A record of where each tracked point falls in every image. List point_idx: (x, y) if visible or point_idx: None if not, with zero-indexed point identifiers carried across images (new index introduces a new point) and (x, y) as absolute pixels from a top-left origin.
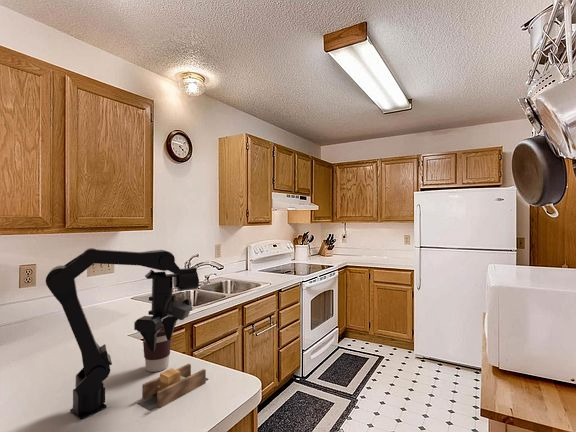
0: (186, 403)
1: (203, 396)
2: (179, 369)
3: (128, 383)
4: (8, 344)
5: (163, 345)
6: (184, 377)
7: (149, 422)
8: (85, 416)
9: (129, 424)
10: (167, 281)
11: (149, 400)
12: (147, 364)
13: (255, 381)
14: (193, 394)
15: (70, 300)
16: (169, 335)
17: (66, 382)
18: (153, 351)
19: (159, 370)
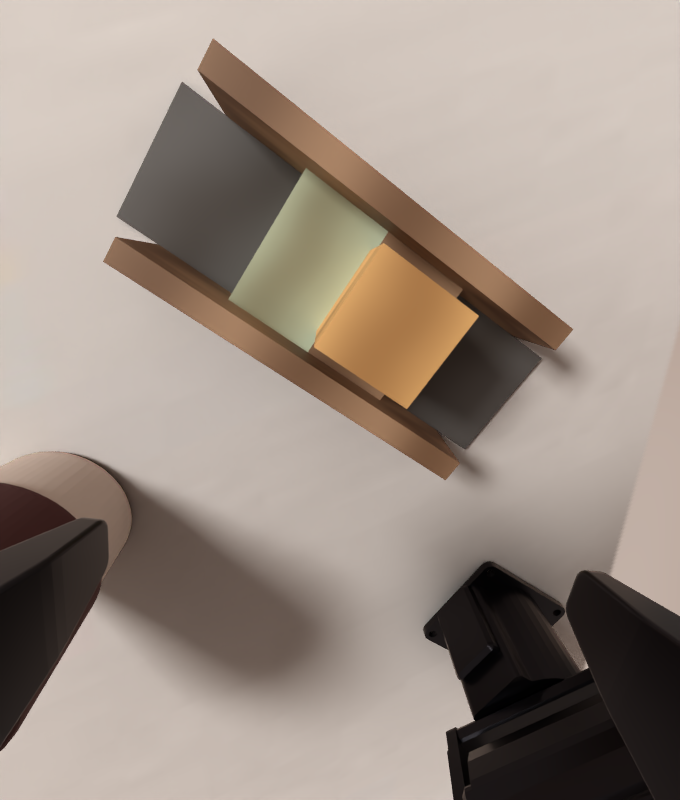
0: (497, 166)
1: (425, 60)
2: (221, 308)
3: (266, 572)
4: None
5: None
6: (256, 257)
7: (643, 319)
8: (555, 601)
9: (635, 406)
10: None
11: (451, 399)
12: (109, 568)
13: None
14: (394, 149)
15: None
16: (58, 586)
17: (268, 788)
18: (592, 574)
19: (114, 479)
